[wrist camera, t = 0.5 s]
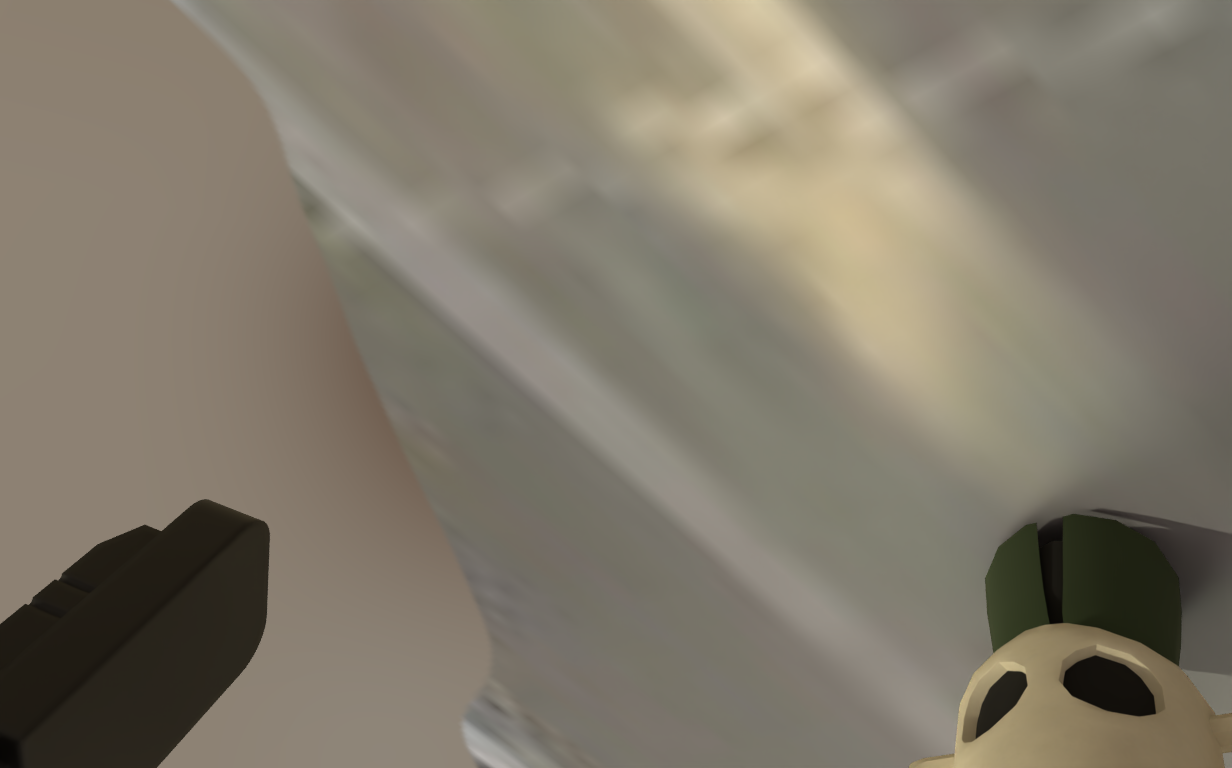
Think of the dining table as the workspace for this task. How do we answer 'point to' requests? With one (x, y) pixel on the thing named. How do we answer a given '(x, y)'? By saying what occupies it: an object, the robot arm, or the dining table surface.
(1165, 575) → the character mug
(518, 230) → the dining table surface
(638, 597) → the dining table surface
